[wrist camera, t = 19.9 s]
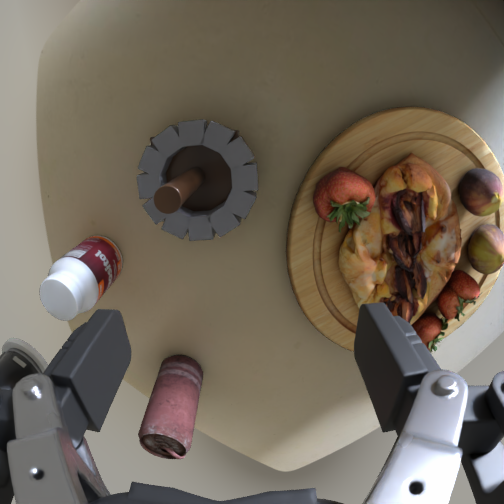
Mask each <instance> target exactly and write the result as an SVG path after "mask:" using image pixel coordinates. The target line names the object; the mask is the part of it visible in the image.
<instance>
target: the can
mask: <svg viewBox="0 0 504 504" xmlns="http://www.w3.org/2000/svg"><path fill="white" fill-rule="evenodd" d="M202 380H203V371H202V369H201V367H200V365H199V364H198V363H197V362H196V361H195V360H193V359H192V358H190V357H187V356H184V355H173V356H171V357H168V358H166V359H165V360H164V361H163V362H162V364H161V367H160V370H159V373H158V376H157V379H156V382H155V385H154V388H153V391H152V394H151V396H150V399H149V403H148V406H147V409H146V412H145V415H144V418H143V421H142V424H141V427H140V430H139V433H138V435H139V438H140V444H141V446H142V447H143V448H144V449H145V450H146V451H148V452H149V453H151V454H153V455H155V456H158V457H161V458H166V459H182V458H184V457H185V454H186V453H187V452H188V451H189V449H190V447H191V442H192V436H193V430H194V425H195V419H196V413H197V407H198V402H199V396H200V391H201V385H202Z"/></svg>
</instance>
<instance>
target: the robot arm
mask: <svg viewBox="0 0 504 504" xmlns="http://www.w3.org/2000/svg"><path fill="white" fill-rule="evenodd" d="M354 355H355V359H356V362H357V365H358V367H359V370H360V372H361V375H362V378H363V380H364V383H365V385H366V388H367V391H368V393H369V396H370V399H371V401H372V404H373V407H374V409H375V412H376V415H377V417H378V420H379V423H380V426H381V428H382V431H383V432H388V431H393V430H396V433H397V435H398V437H397V439H396V441H395V443H394V445H393V448H392V450H391V452H390V454H389V456H388V458H387V460H386V462H385V464H384V466H383V468H382V470H381V472H380V474H379V475H378V478H377V479H376V481H375V483H374V485H373V487H372V488H371V490H370V492H369V494H368V495H367V497H366V498H365V500H364V502H363V503H362V504H448V501H449V498H450V495H451V492H452V489H453V486H454V483H455V480H456V476H457V473H458V469H459V466H460V462H462V465H463V468H464V470H465V473H466V476H467V478H468V481H469V483H470V486H471V489H472V492H473V495H474V498H475V501H476V504H504V447H503V445H502V443H501V439H502V438H503V437H504V371H502V372H499V373H497V374H496V375H495V376H494V378H493V380H492V382H491V384H490V386H468V385H467V383H466V381H465V380H464V379H463V378H462V377H461V376H460V375H458V374H457V373H454V372H452V371H449V370H441V368H440V367H439V365H438V364H437V362H436V361H435V359H434V358H433V356H432V355H431V353H430V352H429V350H428V349H427V347H426V346H425V344H424V343H422V340H421V339H420V337H419V336H418V335H417V334H416V331H415V330H414V329H413V327H412V326H411V324H410V323H409V322H407V321H406V320H404V319H403V318H401V317H400V316H393V315H392V313H391V312H390V310H389V309H388V307H387V306H386V305H385V303H383V302H380V303H369V304H362V305H361V306H360V309H359V315H358V321H357V328H356V334H355V340H354ZM130 361H131V347H130V343H129V340H128V336H127V333H126V329H125V326H124V322H123V318H122V315H121V313H120V311H119V310H109V309H98V310H96V312H95V313H94V314H93V315H92V317H91V318H90V319H89V321H88V322H87V323H86V322H85V323H84V324H83V325H81V326H80V327H78V328H77V329H75V330H74V331H73V333H72V334H71V335H70V337H69V338H68V341H66V342H65V343H64V345H63V346H62V349H60V350H59V352H58V353H57V354H56V356H55V357H54V358H53V360H52V361H51V363H50V364H49V365H48V367H47V368H46V370H45V371H44V372H43V373H42V371H41V369H40V368H39V366H38V365H37V364H36V362H35V361H34V360H33V359H32V358H31V357H30V356H29V355H27V354H26V353H25V352H23V351H21V350H19V349H17V348H9V349H8V350H7V351H6V352H3V353H2V355H1V356H0V504H11V502H12V499H13V496H14V495H15V500H16V504H343V503H339V502H336V501H331V500H326V499H317V496H316V489H315V488H310V489H301V490H287V491H269V492H265V493H260V494H257V495H252V496H247V497H242V498H237V499H232V500H226V501H215V500H211V499H208V498H204V497H200V496H197V495H194V494H191V493H187V492H184V491H181V490H178V489H175V488H170V487H162V486H155V485H149V484H143V483H136V482H132V483H131V487H130V490H129V492H125V493H117V494H113V495H111V494H110V492H109V491H108V490H107V488H106V486H105V485H104V483H103V481H102V478H101V476H100V474H99V471H98V469H97V467H96V464H95V462H94V459H93V457H92V454H91V452H90V449H89V446H88V444H87V441H86V439H85V438H84V436H83V435H84V433H85V431H86V430H92V431H96V432H100V430H101V427H102V425H103V422H104V420H105V418H106V415H107V413H108V411H109V408H110V406H111V404H112V402H113V399H114V397H115V395H116V393H117V390H118V388H119V386H120V384H121V381H122V379H123V377H124V375H125V373H126V370H127V368H128V366H129V364H130Z"/></svg>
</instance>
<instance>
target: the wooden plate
mask: <svg viewBox="0 0 504 504" xmlns="http://www.w3.org/2000/svg"><path fill="white" fill-rule="evenodd" d="M286 257H287V267H288V274H289V278H290V282H291V285H292V289H293V292H294V294H295V297H296V299H297V302H298V304H299V306H300V307H301V309H302V311H303V313H304V314H305V316H306V317H307V319H308V320H309V321H310V322H311V324H312V325H313V326H314V327H315V328H316V329H317V330H318V331H319V332H320V333H321V334H323V335H324V336H325V337H326V338H328V339H329V340H331V341H332V342H334V343H336V344H338V345H339V346H341V347H343V348H345V349H347V350H350V351H353V352H354V340H355V334H356V328H357V321H358V315H359V309H360V306H361V305H362V304H369V303H380V302H383V303H385V305H386V306H387V307H388V309H389V310H390V312H391V313H392V315H393V316H400V317H401V318H403V319H404V320H406V321H407V322H409V323H410V324H411V326H412V327H413V329H414V330H415V331H416V334H417V335H418V336H419V337H420V339H421V340H422V343H424V344H425V346H426V347H427V349H428V350H429V352H430V350H431V351H432V349H434V351H436V350H437V347H436V346H434V344H435V343H437V342H438V341H441V340H442V339H443V338H445V337H447V336H448V335H449V334H451V333H452V332H454V331H455V330H456V329H457V328H459V327H460V326H461V325H462V324H463V323H464V322H465V321H466V320H467V319H469V318H470V317H471V315H472V314H473V313H474V312H475V311H476V310H477V309H478V308H479V306H480V305H481V304H482V303H483V301H484V300H485V298H486V297H487V295H488V294H489V292H490V291H491V289H492V287H493V285H494V283H495V282H496V280H497V278H498V275H499V273H500V270H501V268H502V266H503V264H504V176H503V173H502V170H501V168H500V165H499V163H498V162H497V160H496V158H495V156H494V154H493V153H492V151H491V150H490V148H489V147H488V146H487V144H486V143H485V142H484V140H483V139H482V138H481V137H480V136H479V135H478V134H477V133H476V132H475V131H474V130H473V129H471V128H470V127H469V126H468V125H467V124H465V123H464V122H462V121H461V120H459V119H457V118H456V117H454V116H451V115H449V114H446V113H444V112H441V111H438V110H434V109H430V108H425V107H412V106H410V107H397V108H391V109H387V110H383V111H379V112H376V113H374V114H371V115H369V116H367V117H365V118H362V119H361V120H359V121H357V122H355V123H354V124H353V125H351V126H350V127H348V128H347V129H346V130H344V131H343V132H342V133H340V134H339V135H338V136H337V137H336V138H335V139H333V140H332V141H331V142H330V143H329V144H328V145H327V146H326V147H325V149H324V150H323V151H322V152H321V154H320V155H319V156H318V157H317V159H316V160H315V162H314V163H313V165H312V166H311V167H310V169H309V170H308V172H307V174H306V176H305V178H304V180H303V182H302V184H301V186H300V188H299V190H298V193H297V195H296V198H295V200H294V203H293V206H292V210H291V214H290V219H289V224H288V233H287V243H286Z"/></svg>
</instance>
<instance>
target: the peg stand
mask: <svg viewBox="0 0 504 504" xmlns="http://www.w3.org/2000/svg"><path fill="white" fill-rule="evenodd" d="M233 131H235V134H234V136H233V138H232V140H231V142H232V141H234V140H235V139H237V138H238V137H239V131H238V130H233ZM153 138H155V137H151V138H150V141H151V140H152V139H153ZM151 145H154V144H153V142H152V141H151ZM166 178H167V183H166V184H165V185H163V186H161V187H160V188H158V189H157V190H156V192H155V194H154V204H155V207H156V208H157V209H158V210H159V211H160V212H162V213H164V214H172V213H174V212H176V211H177V210H178V209H179V208H180V207H181V206H183V207H185V208H187V209H189V210H192V211H208V210H212V209H214V208H215V207H217V206H218V205H220V204H221V203H223V202H224V201H226V199H227V197H228V195H229V193H230V191H231V189H232V179H231V169H230V167H229V166H228V164H227V163H226V162H225V160H224V159H223V157H222V156H221V154H220V153H218V152H216V151H214V150H212V149H210V148H207V147H205V146H203V145H197V146H187V147H185V148H184V149H183V150H181V151H180V152H178V153H177V154H176V155H174V156H173V158H172V160H171V162H170V165H169V167H168V169H167V171H166ZM165 219H166V218H165ZM165 219H164V220H162V221H165Z"/></svg>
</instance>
